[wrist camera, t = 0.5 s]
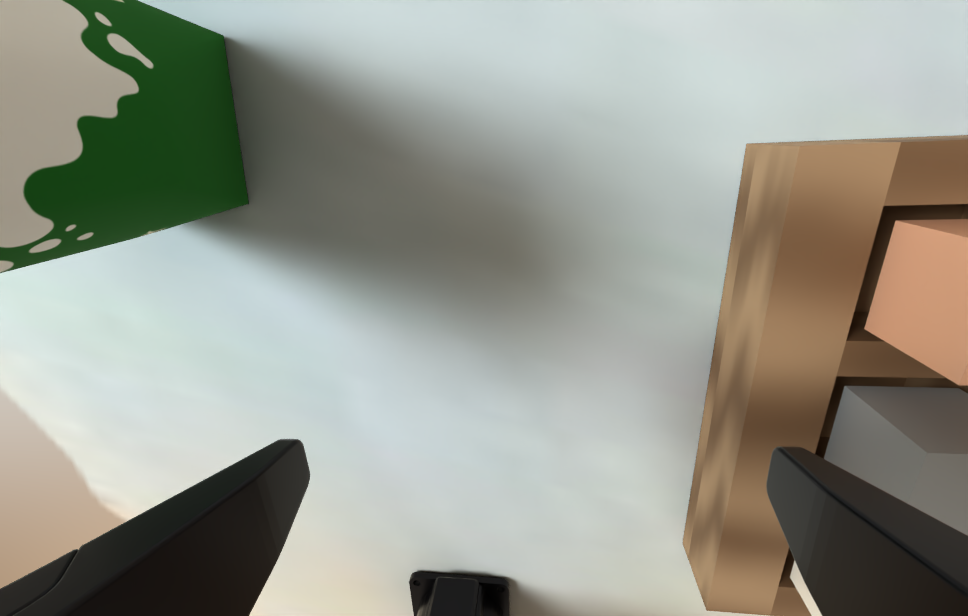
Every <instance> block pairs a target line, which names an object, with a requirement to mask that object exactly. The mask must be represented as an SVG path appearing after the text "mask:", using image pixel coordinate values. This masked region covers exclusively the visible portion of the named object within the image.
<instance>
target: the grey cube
mask: <svg viewBox="0 0 968 616" xmlns="http://www.w3.org/2000/svg"><path fill="white" fill-rule="evenodd" d="M824 459H825V460H827V461H829V462H831V463H832V464H834V465H836V466H838V467H840V468H842V469H844V470H846V471H847V472H849V473H851V474H853V475H855V476H857V477H859V478H861V479H862V480H864V481H866V482H868V483H870V484H872V485H874V486H876V487H877V488H879V489H881V490H883V491H885V492H887V493H889V494H891V495H892V496H894V497H896V498H898V499H900V500H902V501H904V502H906V503H907V504H909V505H911V506H913V507H915V508H917V509H919V510H921V511H922V512H924V513H926V514H928V515H930V516H932V517H934V518H936V519H938V520H939V521H941V522H943V523H945V524H947V525H949V526H951V527H953V528H954V529H956V530H958V531H960V532H962V533H964V534H966V535H968V393H966V392H964V391H963V390H961V389H959V388H931V387H884V386H844V390H843V393H842V397H841V400H840V404H839V407H838V411H837V414H836V418H835V421H834V425H833V428H832V432H831V435H830V439H829V442H828V446H827V449H826V453H825V456H824Z"/></svg>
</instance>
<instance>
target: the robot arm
mask: <svg viewBox="0 0 968 616" xmlns="http://www.w3.org/2000/svg"><path fill="white" fill-rule="evenodd" d="M309 480H310V471H309V466H308V462H307V458H306V454H305V450H304V446H303V443H302V442H301V441H300V440H298V439H280V440H277V441H276V442H274V443H272V444H270V445H268V446H266V447H264V448H263V449H261V450H259V451H257V452H255V453H253V454H251V455H250V456H248V457H246V458H244V459H242V460H240V461H238V462H237V463H235V464H233V465H231V466H229V467H227V468H225V469H224V470H222V471H220V472H218V473H216V474H214V475H212V476H211V477H209V478H207V479H205V480H203V481H201V482H199V483H197V484H196V485H194V486H192V487H190V488H188V489H186V490H184V491H183V492H181V493H179V494H177V495H175V496H173V497H171V498H170V499H168V500H166V501H164V502H162V503H160V504H158V505H157V506H155V507H153V508H151V509H149V510H147V511H145V512H144V513H142V514H140V515H138V516H136V517H134V518H132V519H131V520H129V521H127V522H125V523H123V524H121V525H119V526H118V527H116V528H114V529H112V530H110V531H108V532H107V533H105V534H103V535H101V536H99V537H97V538H96V539H94V540H92V541H90V542H88V543H86V544H84V545H82V546H81V547H80V548H79V550H78V549H76V550H73V551H71V552H69V553H67V554H66V555H63V556H62V557H60V558H58V559H56V560H54V561H52V562H51V563H49V564H47V565H45V566H43V567H41V568H39V569H37V570H35V571H34V572H32V573H30V574H28V575H26V576H24V577H22V578H20V579H18V580H16V581H14V582H12V583H10V584H9V585H7V586H5V587H3V588H1V589H0V616H249V614H250V612H251V610H252V609H253V607H254V605H255V603H256V601H257V599H258V597H259V595H260V593H261V591H262V589H263V587H264V585H265V583H266V581H267V580H268V578H269V576H270V574H271V572H272V570H273V568H274V566H275V564H276V562H277V560H278V558H279V556H280V553H281V551H282V549H283V546H284V544H285V542H286V539H287V537H288V534H289V532H290V529H291V527H292V524H293V522H294V519H295V517H296V514H297V512H298V509H299V507H300V504H301V502H302V499H303V497H304V494H305V492H306V489H307V487H308V484H309ZM766 489H767V494H768V497H769V500H770V502H771V505H772V507H773V510H774V512H775V514H776V517H777V519H778V521H779V524H780V526H781V529H782V531H783V533H784V536H785V538H786V541H787V543H788V545H789V548H790V550H791V552H792V555H793V557H794V560H795V562H796V564H797V567H798V569H799V571H800V573H801V576H802V578H803V580H804V582H805V584H806V586H807V588H808V590H809V592H810V594H811V596H812V598H813V600H814V602H815V603H816V605H817V607H818V609H819V611H820V613H821V615H822V616H968V535H966V534H964V533H962V532H960V531H958V530H956V529H954V528H953V527H951V526H949V525H947V524H945V523H943V522H941V521H939V520H938V519H936V518H934V517H932V516H930V515H928V514H926V513H924V512H922V511H921V510H919V509H917V508H915V507H913V506H911V505H909V504H907V503H906V502H904V501H902V500H900V499H898V498H896V497H894V496H892V495H891V494H889V493H887V492H885V491H883V490H881V489H879V488H877V487H876V486H874V485H872V484H870V483H868V482H866V481H864V480H862V479H861V478H859V477H857V476H855V475H853V474H851V473H849V472H847V471H846V470H844V469H842V468H840V467H838V466H836V465H834V464H832V463H831V462H829V461H827V460H825V459H823V458H821V457H819V456H817V455H816V454H814V453H812V452H810V451H808V450H806V449H804V448H802V447H795V446H778V447H776V448H774V450H773V452H772V455H771V460H770V466H769V471H768V476H767V482H766ZM409 584H410V591H411V598H412V605H413V612H414V616H510V595H509V582H508V581H507V580H505V579H502V578H491V577H477V576H464V575H451V574H437V573H424V572H414V573H412V575H411V577H410V581H409Z"/></svg>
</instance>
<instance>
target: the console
mask: <svg viewBox="0 0 968 616" xmlns="http://www.w3.org/2000/svg"><path fill="white" fill-rule="evenodd" d="M947 219H968V135H959V136H933V137H907V138H882V139H856V140H830V141H804V142H778V143H752V144H746V151H745V157H744V163H743V169H742V176H741V182H740V188H739V194H738V200H737V207H736V213H735V219H734V225H733V232H732V238H731V244H730V250H729V257H728V263H727V269H726V275H725V282H724V288H723V294H722V300H721V307H720V313H719V319H718V325H717V332H716V338H715V344H714V350H713V357H712V363H711V369H710V375H709V381H708V388H707V394H706V400H705V406H704V413H703V419H702V425H701V431H700V438H699V444H698V450H697V456H696V463H695V469H694V475H693V481H692V488H691V494H690V500H689V506H688V513H687V519H686V525H685V531H684V538H683V546H684V548H685V551H686V554H687V557H688V560H689V562H690V565H691V568H692V571H693V574H694V577H695V579H696V582H697V585H698V588H699V591H700V593H701V596H702V599H703V602H704V605H705V607H706V610H707V611H720V612H732V613H745V614H758V615H770V616H812V615H811V613H810V612H809V610H808V608H807V606H806V605H805V603H804V601H803V599H802V598H801V596H800V594H799V592H798V591H797V589H796V587H795V585H794V584H793V582H792V580H791V578H790V575H791V571H792V568H793V564H794V561H795V560H794V557H793V555H792V552H791V550H790V548H789V545H788V543H787V541H786V538H785V536H784V533H783V531H782V529H781V526H780V524H779V521H778V519H777V517H776V514H775V512H774V510H773V507H772V505H771V502H770V500H769V497H768V494H767V489H766V482H767V476H768V471H769V466H770V460H771V455H772V452H773V450H774V448H776V447H778V446H795V447H802V448H804V449H806V450H808V451H810V452H812V453H814V454H816V455H817V456H819V457H821V458H823V459H824V456H825V453H826V449H827V446H828V442H829V439H830V435H831V432H832V428H833V425H834V421H835V418H836V414H837V411H838V407H839V404H840V400H841V397H842V393H843V390H844V386H884V387H931V388H959V389H961V390H963V391H964V392H966V393H968V386H967V385H958V384H956V383H954V382H953V381H951V380H949V379H948V378H946V377H944V376H943V375H941V374H939V373H937V372H936V371H934V370H932V369H931V368H929V367H927V366H926V365H924V364H922V363H921V362H919V361H917V360H916V359H914V358H912V357H911V356H909V355H907V354H905V353H904V352H902V351H900V350H899V349H897V348H895V347H894V346H892V345H890V344H889V343H887V342H885V341H884V340H882V339H880V338H879V337H877V336H875V335H873V334H872V333H870V332H868V331H867V330H865V329H864V328H865V325H866V321H867V318H868V314H869V311H870V307H871V304H872V300H873V297H874V294H875V290H876V287H877V283H878V280H879V276H880V273H881V269H882V266H883V262H884V259H885V256H886V252H887V249H888V245H889V242H890V238H891V235H892V231H893V228H894V224H895V221H896V220H947Z"/></svg>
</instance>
